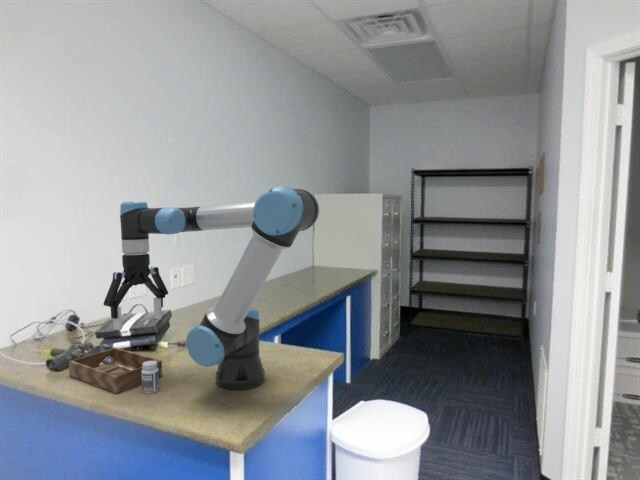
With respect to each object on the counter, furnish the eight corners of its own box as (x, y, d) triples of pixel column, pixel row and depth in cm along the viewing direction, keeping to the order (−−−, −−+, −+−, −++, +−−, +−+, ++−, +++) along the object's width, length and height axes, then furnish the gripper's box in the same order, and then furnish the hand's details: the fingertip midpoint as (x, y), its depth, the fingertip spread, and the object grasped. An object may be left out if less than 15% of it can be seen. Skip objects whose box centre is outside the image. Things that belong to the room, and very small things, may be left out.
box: (162, 376, 141) (161, 360, 141) (116, 394, 128) (115, 377, 127) (115, 361, 154) (115, 347, 154) (69, 376, 140) (68, 361, 140)
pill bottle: (153, 385, 134) (152, 358, 133) (162, 390, 131) (161, 362, 130) (138, 390, 130) (137, 363, 130) (147, 395, 127) (146, 366, 127)
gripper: (162, 249, 145) (165, 313, 147) (87, 257, 124) (91, 331, 126) (178, 250, 141) (180, 316, 143) (103, 258, 120) (107, 335, 122)
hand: (138, 323), depth 134 cm, fingers open, 13 cm apart
